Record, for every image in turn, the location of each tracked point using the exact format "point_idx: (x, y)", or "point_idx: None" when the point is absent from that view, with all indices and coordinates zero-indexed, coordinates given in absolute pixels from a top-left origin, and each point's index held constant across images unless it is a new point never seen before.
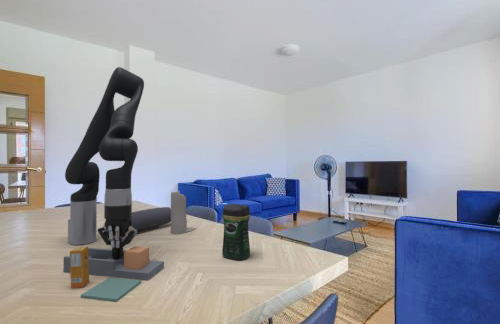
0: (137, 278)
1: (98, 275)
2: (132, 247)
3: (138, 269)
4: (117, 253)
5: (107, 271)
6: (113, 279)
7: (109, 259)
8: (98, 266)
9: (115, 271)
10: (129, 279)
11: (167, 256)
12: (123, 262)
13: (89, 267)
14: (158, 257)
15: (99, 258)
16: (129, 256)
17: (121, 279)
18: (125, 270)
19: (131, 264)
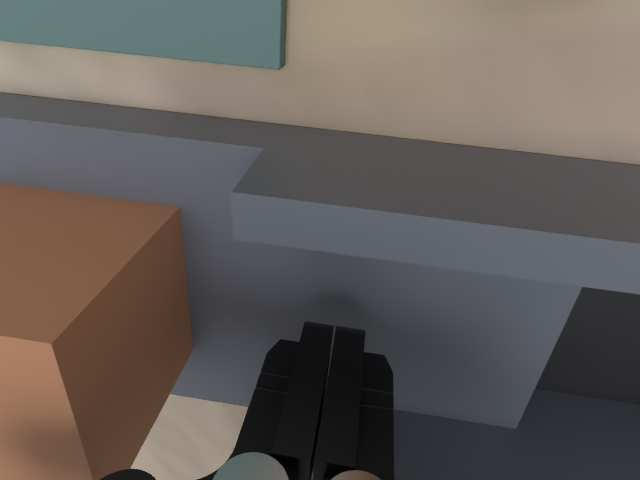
0: (4, 96)
1: (467, 146)
2: (85, 476)
3: (5, 183)
4: (288, 382)
5: (350, 151)
6: (195, 16)
7: (489, 400)
8: (488, 185)
9: (239, 141)
10: (25, 36)
11: None
12: (291, 337)
13: (627, 191)
14: (174, 467)
15: (627, 436)
16: (14, 279)
17: (107, 26)
18: (117, 149)
19: (55, 216)
